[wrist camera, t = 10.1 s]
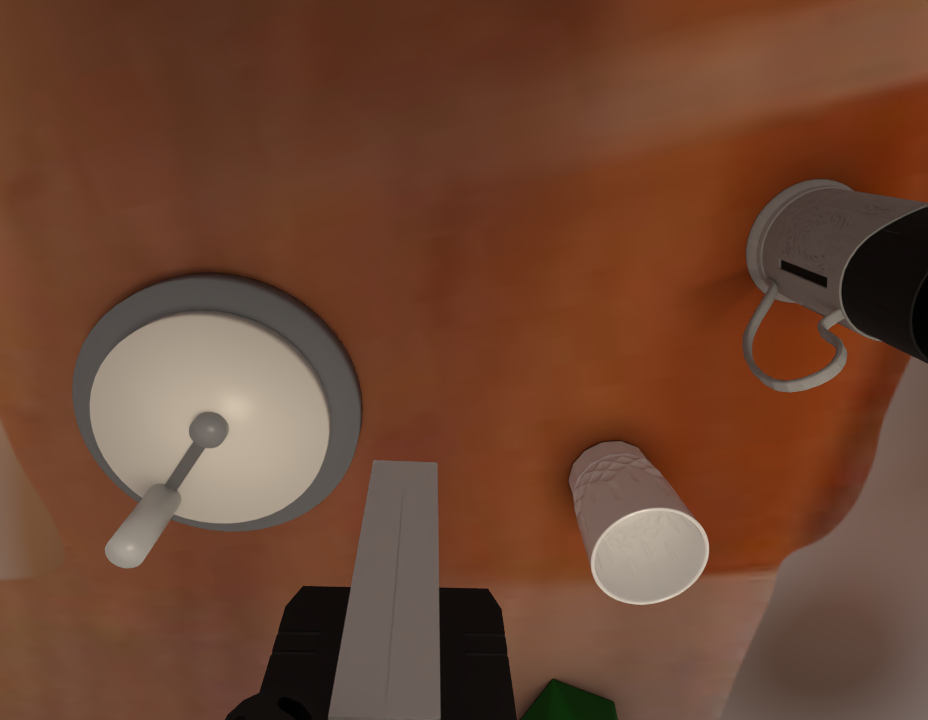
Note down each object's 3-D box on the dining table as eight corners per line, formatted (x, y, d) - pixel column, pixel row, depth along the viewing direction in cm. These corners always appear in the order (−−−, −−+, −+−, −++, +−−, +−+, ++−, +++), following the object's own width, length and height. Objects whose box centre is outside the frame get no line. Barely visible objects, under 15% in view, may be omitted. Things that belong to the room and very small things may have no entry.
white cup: (560, 519, 50) (589, 609, 41) (561, 436, 48) (593, 512, 38) (653, 513, 51) (703, 600, 41) (660, 430, 48) (715, 504, 39)
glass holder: (886, 257, 43) (1100, 321, 30) (710, 364, 46) (831, 470, 32) (841, 152, 41) (1055, 167, 27) (657, 272, 43) (764, 344, 29)
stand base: (66, 264, 41) (46, 272, 39) (364, 281, 42) (360, 290, 40) (108, 511, 48) (93, 529, 46) (361, 519, 50) (357, 537, 47)
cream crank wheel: (166, 262, 39) (108, 293, 32) (374, 393, 43) (362, 445, 36) (61, 443, 43) (-10, 505, 36) (259, 546, 47) (229, 619, 40)
